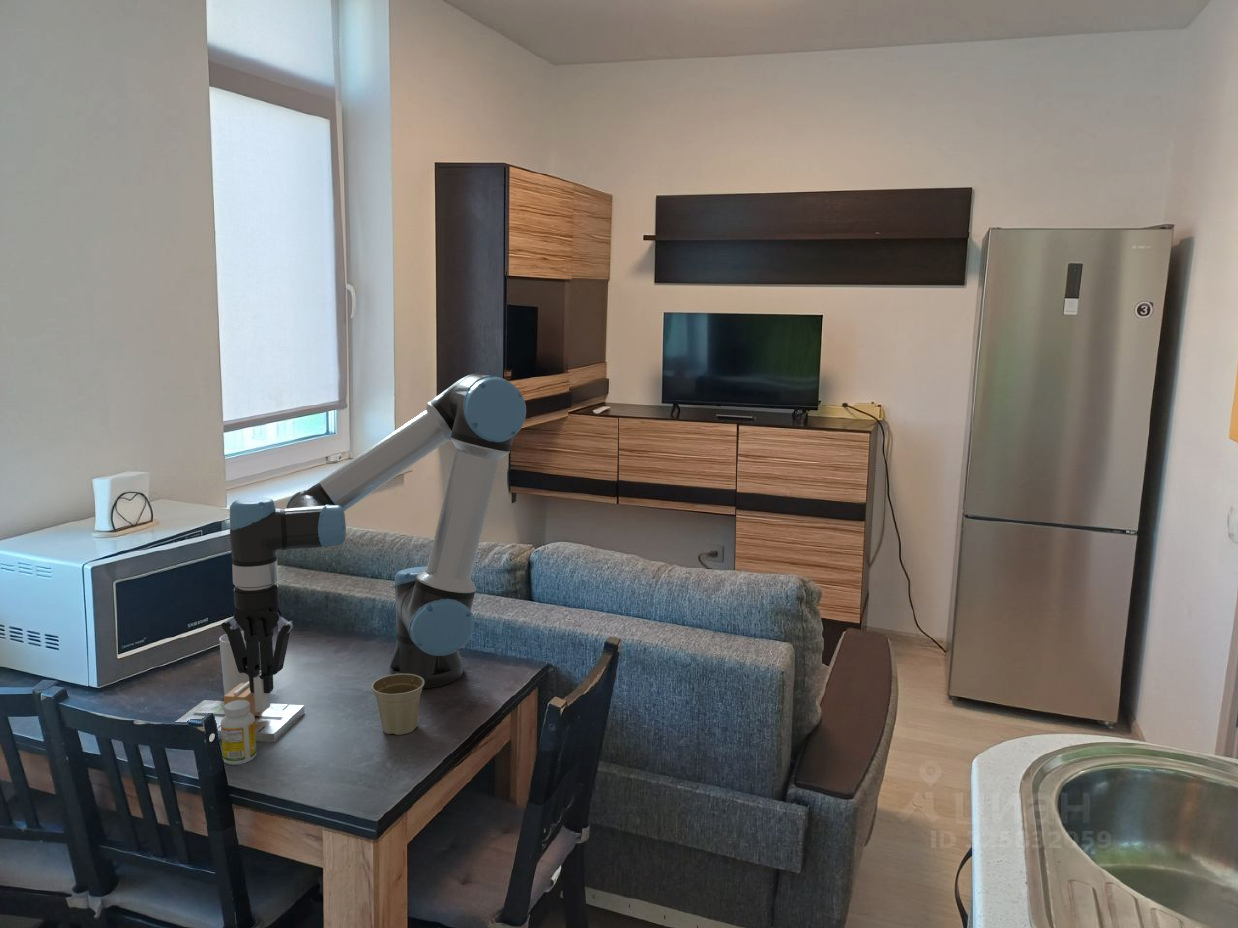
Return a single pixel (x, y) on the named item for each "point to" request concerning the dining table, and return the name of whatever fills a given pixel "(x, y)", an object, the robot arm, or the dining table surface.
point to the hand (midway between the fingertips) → (262, 708)
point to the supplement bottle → (238, 733)
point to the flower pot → (398, 702)
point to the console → (266, 722)
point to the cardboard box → (242, 696)
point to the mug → (231, 665)
